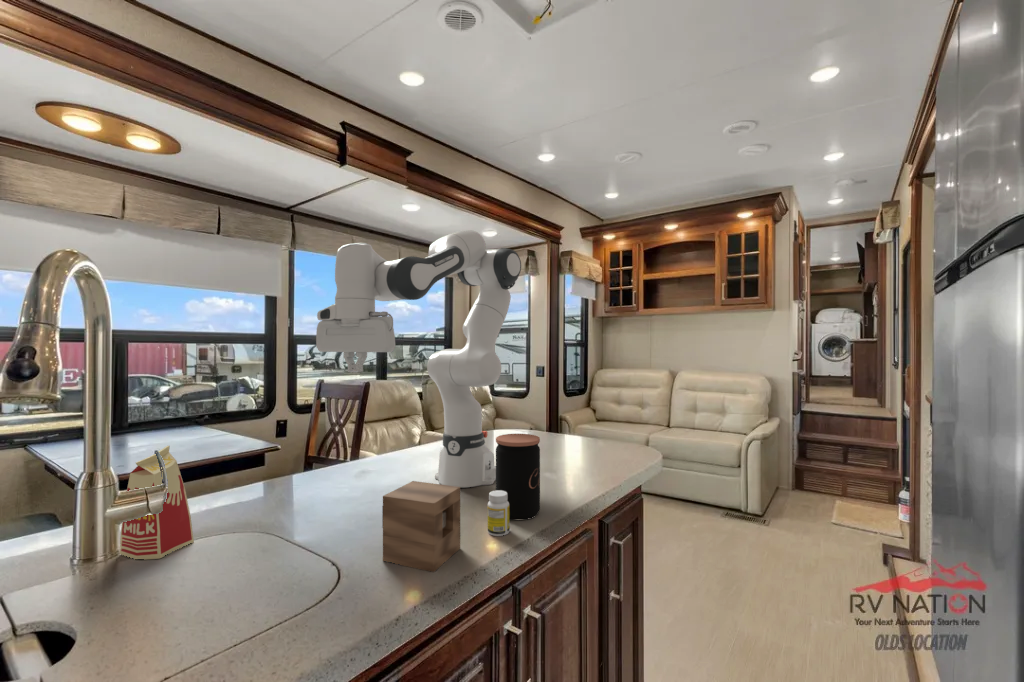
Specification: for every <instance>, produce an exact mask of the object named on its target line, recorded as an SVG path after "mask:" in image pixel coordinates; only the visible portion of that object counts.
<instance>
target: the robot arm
mask: <svg viewBox="0 0 1024 682" xmlns="http://www.w3.org/2000/svg"><path fill="white" fill-rule="evenodd" d="M427 254H428V256H426V257H418V256H414V255H413V256H406V257H403V258H400V259H394V260H387V259H385V258H384V257H382V256H381V255H380V254H378V252H377V251H375V250H374V248H373V246H372V244H371V243H370V244H369V243H366V242H354V243H348V244H344V245H342V246H341V247H339V248H338V249H337V252H336V257H335V264H334V268H335V269H334V281H335V285H336V293H335V296H334V304H331V305H329V306H328V307H325V308H323V309H321V310H319V311H317V314H316V317H317V320H318V321H319V322H318V323H317V325H316V332H315V333H316V334H315V335H316V336H315V338H316V339H315V341H316V342H315V344H316V349H317V350H318V351H319V352H321V353H326V352H327V353H343V358H344V361H345V362H346V364H347V372H348V373H363V372H364V364H365V362H366V360H367V358H368V353H392V352H393V351H394V350H395V348H396V336H395V329H394V318H393V316H392V314H391V313H389V312H388V311H376V301H379V302H390V301H391V302H392V301H401V300H403V301H404V300H406V301H407V300H408V301H410V300H411V301H416V300H419V299H422V298H423V297H425V296H426V295H427V293H428V292H429V291H430V290H431V288H432V287H433V285H435V284H436V283H437V282H438V281H440V280H442V279H444V278H446V277H447V276H451V275H452V276H453V275H457V276H458V279H459V281H460V282H461V283H462V284H464V285H465V286H469V287H476V286H479V294H478V296H477V297H476V299H475V301H474V303H472V305H471V308H470V310H469V312H468V314H467V317H466V318H465V320H464V323H463V324H462V333H463V335H464V337H465V338H466V342H465V345H464V346H463V347H462V348H446V349H445V348H444V349H442V350H437V351H435V352H433V353H432V354H431V355H430V356H429V358H428V361H427V364H426V372H427V374H428V376H429V377H430V379H431V380H432V381H433V382H434V383H435V385H436V387H437V389H438V392H439V394H440V397H441V398H440V399H441V401H442V406H443V419H444V420H443V421H444V422H443V423H444V426H443V427H444V431H443V433H442V446H443V448H442V449H440V451H439V458H438V469H437V470H438V472H437V473H435V474H434V479H436V480H437V481H438V484H441V485H449V486H457V487H460V488H470V487H471V488H472V487H478V486H487V485H488V486H489V485H493V484H494V483H495V482H496V465H495V454H494V452H493V451H492V450H490V448H489V447H488V446H487V445H486V441H485V439H487V438H488V431H487V430H483V429H482V428H483V423H482V421H483V419H482V418H483V408H482V405H481V403H480V402H479V401H478V400H476V398H475V396H474V395H473V393H472V390H471V387H472V388H481V387H482V388H483V387H487V386H492V385H495V384H496V383H497V381H498V380H499V378H500V376H501V373H502V363H501V360H500V357H499V356H498V354H497V353H496V344H497V343H496V342H497V340H498V336H499V335H500V331H501V329H502V327H503V325H504V322H505V320H506V317H507V315H508V311H509V307H510V305H511V304H510V303H511V293H510V291H509V290H510V289H511V288H513V287H514V286H515V284H516V282H517V280H518V279H519V276H520V274H521V271H522V261H521V258H520V255H519V254H518V252H517V251H516V250H514V249H511V248H505V247H501V248H493V249H491V248H490V249H487V244H486V241H485V238H484V237H483V236H482V235H481V233H479V232H478V231H474V230H459V231H456V232H455V231H454V232H452V233H449V234H447V235H443V236H442V237H439V238H438V239H436V240H434V241H433V242H432V243H431V244H430V245H429V248H428V253H427ZM355 353H356V354H355ZM355 355H356V356H355ZM354 357H356V358H357V360H356V362H355V359H354Z"/></svg>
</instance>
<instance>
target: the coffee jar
mask: <svg viewBox="0 0 1024 682" xmlns="http://www.w3.org/2000/svg"><path fill="white" fill-rule="evenodd" d="M540 440H541V438H540V436H537V435H535V434H531V433H530V434H529V433H506V434H502V435H500V434H499V435H498V436H496V437H495V442H496V444H497V446H496V447H495V466H496V480H495V491H496V490H501V491H505V492H507V495H508V500H507V501H508V502H509V520H510V519H527V520H529V519H528V518H531V519H533V518H534V516H535V517H536V516H537V515H538V514H539V512H540V510H541V449H540V446H539V444H540V442H541V441H540ZM537 513H538V514H537ZM532 517H533V518H532Z"/></svg>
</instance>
